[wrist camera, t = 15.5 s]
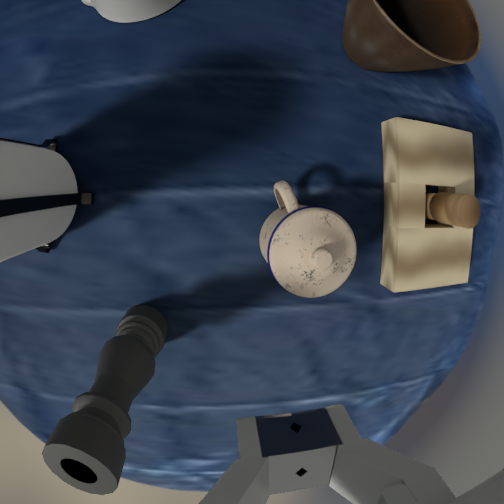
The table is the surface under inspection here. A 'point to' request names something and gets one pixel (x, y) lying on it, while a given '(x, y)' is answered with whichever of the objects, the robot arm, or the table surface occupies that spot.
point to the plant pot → (410, 34)
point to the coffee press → (35, 196)
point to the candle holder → (107, 406)
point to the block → (423, 204)
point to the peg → (453, 209)
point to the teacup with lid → (306, 246)
